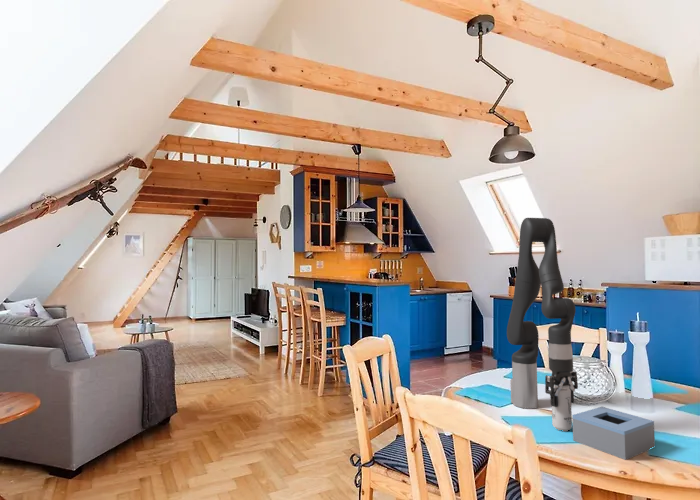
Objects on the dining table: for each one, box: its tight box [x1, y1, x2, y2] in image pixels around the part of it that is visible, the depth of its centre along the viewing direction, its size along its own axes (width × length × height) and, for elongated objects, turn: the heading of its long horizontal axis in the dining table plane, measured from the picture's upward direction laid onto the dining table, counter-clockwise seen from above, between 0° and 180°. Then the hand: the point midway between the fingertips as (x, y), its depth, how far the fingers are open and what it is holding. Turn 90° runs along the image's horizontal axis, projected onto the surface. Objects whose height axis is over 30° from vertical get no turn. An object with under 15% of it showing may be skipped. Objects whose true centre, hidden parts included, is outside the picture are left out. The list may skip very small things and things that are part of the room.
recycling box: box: [572, 406, 656, 461], centre depth 135 cm, size 16×16×8 cm
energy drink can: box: [551, 384, 573, 432], centre depth 148 cm, size 6×6×15 cm
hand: (562, 404), depth 148 cm, fingers open, 8 cm apart
